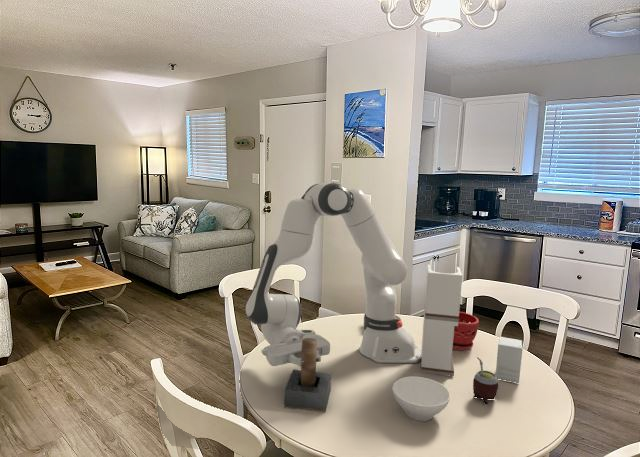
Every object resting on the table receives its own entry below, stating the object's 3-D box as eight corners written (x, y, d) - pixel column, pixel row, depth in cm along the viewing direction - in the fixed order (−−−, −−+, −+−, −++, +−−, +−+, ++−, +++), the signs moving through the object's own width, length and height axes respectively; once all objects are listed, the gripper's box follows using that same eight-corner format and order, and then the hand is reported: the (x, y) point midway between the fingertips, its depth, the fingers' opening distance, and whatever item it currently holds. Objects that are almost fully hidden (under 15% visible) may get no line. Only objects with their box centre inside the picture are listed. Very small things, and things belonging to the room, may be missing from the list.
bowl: (412, 436, 113) (414, 411, 112) (380, 404, 127) (381, 381, 126) (460, 422, 119) (462, 399, 118) (424, 393, 134) (426, 372, 133)
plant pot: (452, 354, 162) (454, 323, 160) (435, 339, 174) (437, 311, 172) (483, 351, 165) (486, 321, 163) (464, 337, 177) (466, 309, 175)
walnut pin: (316, 385, 130) (318, 338, 128) (313, 393, 126) (315, 344, 123) (301, 384, 131) (303, 337, 128) (299, 391, 126) (300, 343, 124)
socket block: (330, 390, 134) (331, 373, 133) (325, 412, 122) (326, 394, 121) (292, 386, 136) (293, 369, 135) (284, 407, 124) (284, 389, 123)
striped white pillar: (453, 376, 145) (462, 275, 139) (421, 372, 147) (428, 272, 141) (451, 361, 156) (459, 267, 150) (421, 357, 158) (427, 264, 152)
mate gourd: (494, 394, 134) (498, 349, 132) (499, 408, 127) (504, 360, 124) (469, 391, 136) (473, 346, 133) (472, 405, 128) (477, 357, 126)
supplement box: (519, 375, 147) (522, 340, 145) (518, 385, 141) (523, 348, 139) (495, 370, 150) (499, 335, 148) (494, 379, 144) (498, 343, 142)
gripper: (259, 339, 132) (277, 358, 121) (317, 329, 142) (339, 345, 131) (258, 359, 133) (277, 379, 122) (316, 347, 143) (338, 364, 132)
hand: (310, 361), depth 126 cm, fingers closed on walnut pin, 4 cm apart
